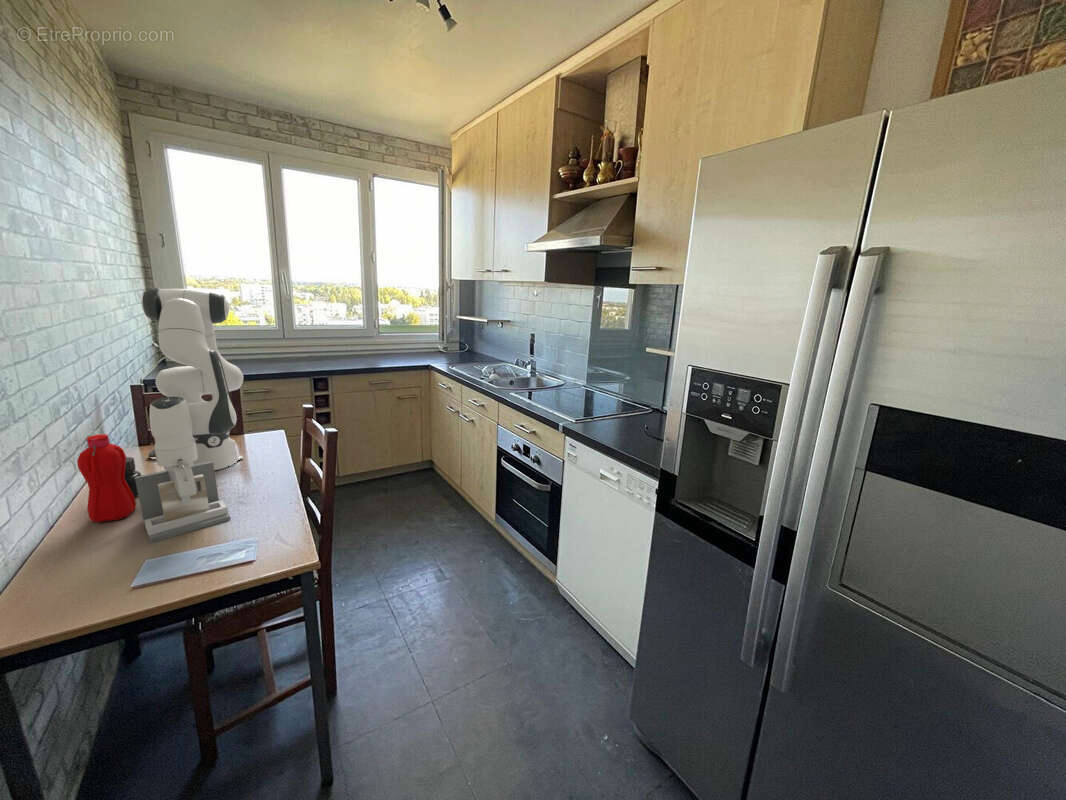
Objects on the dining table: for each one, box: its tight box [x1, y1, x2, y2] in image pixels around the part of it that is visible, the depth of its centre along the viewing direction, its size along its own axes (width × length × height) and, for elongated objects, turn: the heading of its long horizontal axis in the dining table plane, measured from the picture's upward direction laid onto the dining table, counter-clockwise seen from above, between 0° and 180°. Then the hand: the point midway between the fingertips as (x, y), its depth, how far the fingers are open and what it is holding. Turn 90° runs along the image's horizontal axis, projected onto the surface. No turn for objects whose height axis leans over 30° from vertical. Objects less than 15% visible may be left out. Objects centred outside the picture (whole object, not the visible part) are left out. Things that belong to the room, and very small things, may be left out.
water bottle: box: [76, 433, 137, 523], centre depth 125 cm, size 9×11×25 cm
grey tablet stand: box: [135, 461, 231, 544], centre depth 125 cm, size 16×18×14 cm
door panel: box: [158, 474, 209, 522], centre depth 123 cm, size 3×10×11 cm, turn 136°
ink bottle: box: [125, 456, 142, 498], centre depth 140 cm, size 10×9×12 cm
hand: (185, 500), depth 123 cm, fingers closed on door panel, 2 cm apart
